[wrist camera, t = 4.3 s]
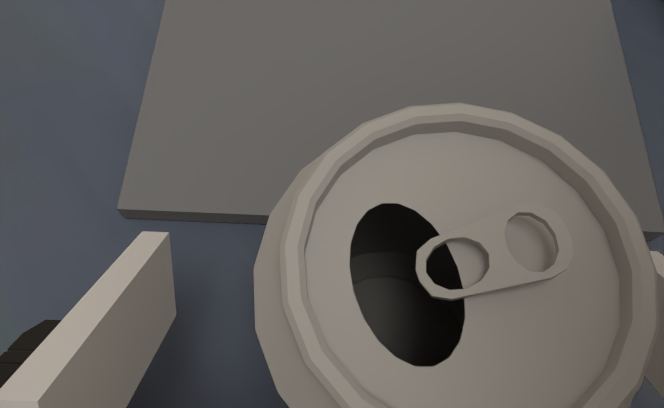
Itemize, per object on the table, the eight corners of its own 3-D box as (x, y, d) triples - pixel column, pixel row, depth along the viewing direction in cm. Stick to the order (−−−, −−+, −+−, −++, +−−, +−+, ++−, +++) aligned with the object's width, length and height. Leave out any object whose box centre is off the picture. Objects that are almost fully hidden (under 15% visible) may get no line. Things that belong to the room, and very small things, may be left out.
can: (271, 282, 20) (204, 110, 9) (448, 240, 21) (582, 34, 10) (314, 490, 17) (293, 604, 6) (518, 431, 18) (817, 441, 7)
